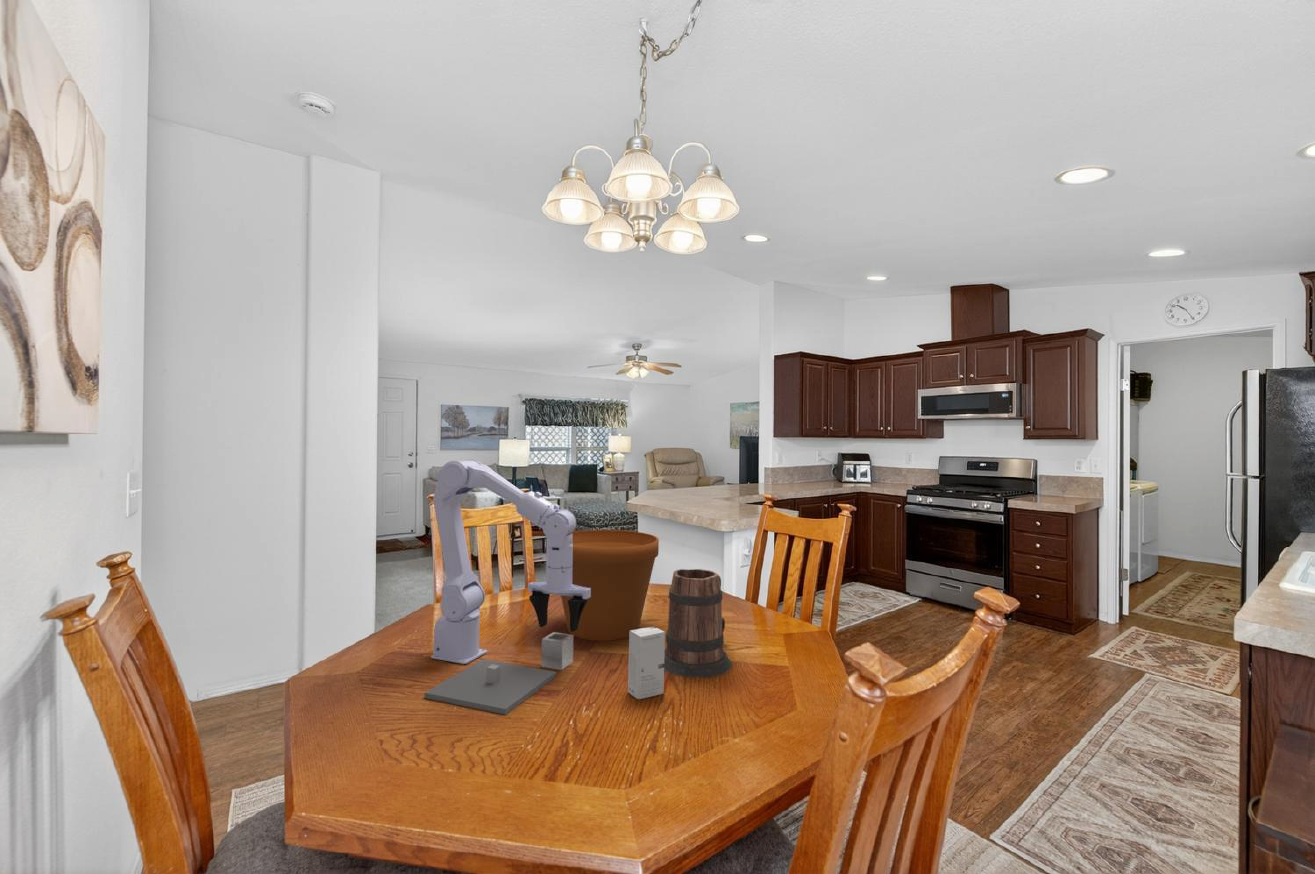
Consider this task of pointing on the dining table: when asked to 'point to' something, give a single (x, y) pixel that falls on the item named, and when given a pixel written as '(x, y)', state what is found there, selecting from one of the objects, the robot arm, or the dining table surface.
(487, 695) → the block
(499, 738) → the dining table surface
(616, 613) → the flowerpot
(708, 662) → the tankard
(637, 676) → the skincare box
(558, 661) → the square socket
